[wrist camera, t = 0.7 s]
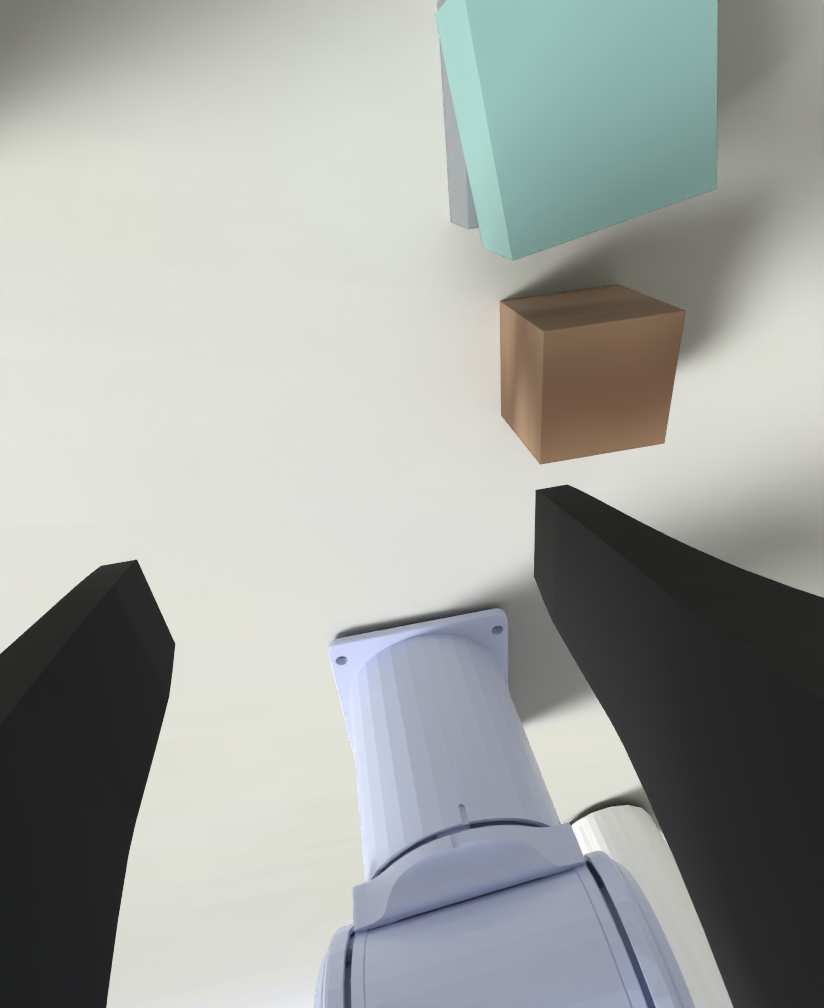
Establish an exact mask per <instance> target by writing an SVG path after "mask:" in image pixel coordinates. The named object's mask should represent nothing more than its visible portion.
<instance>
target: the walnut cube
mask: <svg viewBox="0 0 824 1008" xmlns="http://www.w3.org/2000/svg"><path fill="white" fill-rule="evenodd" d="M684 316H685V310H682V309H679V308H677V307H674V306H671V305H669V304H666V303H664V302H661V301H658V300H656V299H653V298H651V297H648V296H645V295H643V294H640V293H637V292H635V291H632V290H630V289H627V288H624V287H622V286H619V285H611V286H604V287H597V288H590V289H583V290H575V291H568V292H561V293H554V294H547V295H540V296H533V297H526V298H519V299H512V300H505V301H500V353H501V416H502V417H503V418H504V419H505V421H506V422H507V423H508V424H509V426H510V427H511V428H512V430H513V431H514V432H515V433H516V435H517V436H518V437H519V438H520V440H521V441H522V442H523V443H524V445H525V446H526V447H527V448H528V450H529V451H530V452H531V453H532V455H533V456H534V457H535V458H536V460H537V461H538V462H539V464H545V463H551V462H557V461H563V460H569V459H575V458H581V457H587V456H593V455H598V454H604V453H610V452H616V451H622V450H628V449H634V448H640V447H646V446H651V445H657V444H663V443H664V442H665V436H666V430H667V423H668V417H669V411H670V404H671V398H672V392H673V386H674V379H675V373H676V367H677V360H678V354H679V348H680V341H681V335H682V329H683V322H684Z"/></svg>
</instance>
